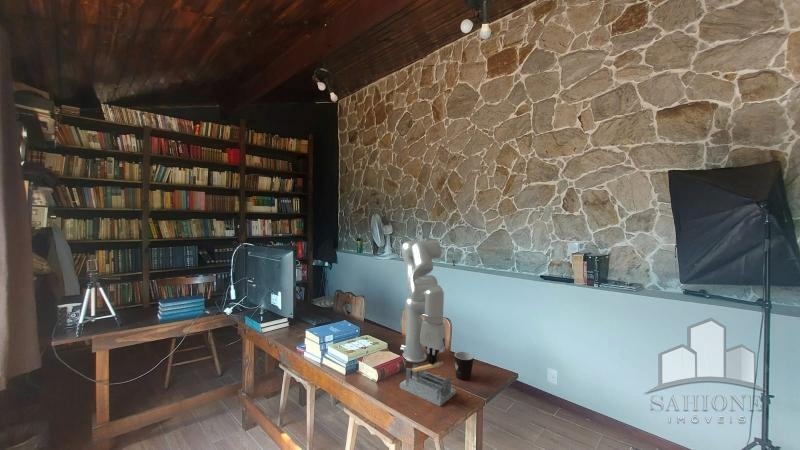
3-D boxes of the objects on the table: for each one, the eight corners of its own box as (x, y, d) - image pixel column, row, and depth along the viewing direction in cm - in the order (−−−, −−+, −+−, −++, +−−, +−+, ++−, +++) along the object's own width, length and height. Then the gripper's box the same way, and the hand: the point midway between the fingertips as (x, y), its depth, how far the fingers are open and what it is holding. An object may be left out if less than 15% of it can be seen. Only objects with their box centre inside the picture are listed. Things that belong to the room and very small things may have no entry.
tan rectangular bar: (409, 374, 142) (408, 370, 143) (414, 371, 145) (412, 367, 145) (439, 367, 132) (437, 362, 133) (443, 364, 135) (442, 360, 136)
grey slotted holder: (399, 387, 140) (400, 369, 140) (416, 377, 149) (417, 360, 149) (439, 406, 127) (440, 386, 127) (455, 393, 137) (456, 374, 136)
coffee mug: (473, 383, 146) (474, 360, 145) (453, 380, 147) (454, 358, 147) (472, 371, 157) (473, 350, 157) (454, 368, 159) (455, 348, 158)
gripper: (413, 317, 138) (412, 360, 138) (444, 325, 128) (443, 372, 129) (424, 313, 144) (422, 354, 144) (454, 320, 134) (452, 365, 135)
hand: (432, 362), depth 137 cm, fingers closed
